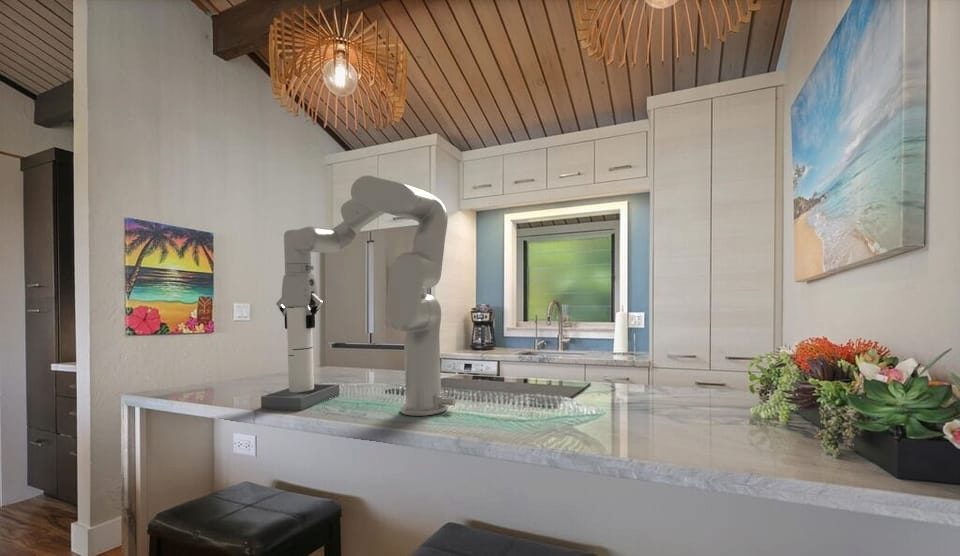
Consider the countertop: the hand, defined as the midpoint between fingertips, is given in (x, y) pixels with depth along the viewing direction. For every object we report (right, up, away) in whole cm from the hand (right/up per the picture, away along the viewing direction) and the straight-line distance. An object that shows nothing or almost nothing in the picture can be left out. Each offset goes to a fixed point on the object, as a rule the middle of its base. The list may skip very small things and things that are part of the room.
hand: (299, 327), depth 140 cm
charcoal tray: (+1, -22, -1) cm, 22 cm away
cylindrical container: (+1, -19, 0) cm, 19 cm away
